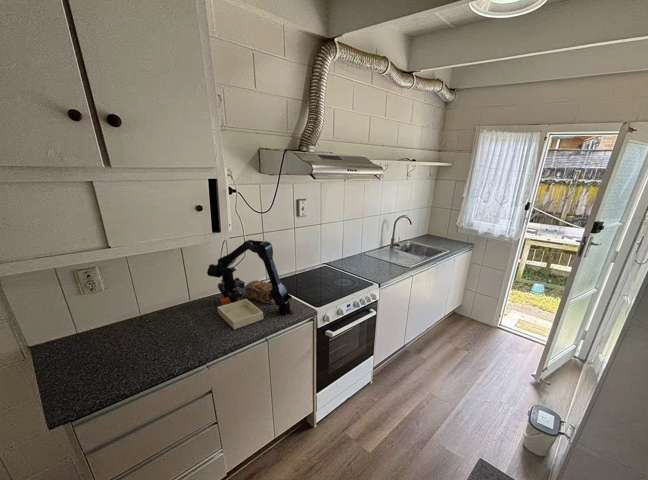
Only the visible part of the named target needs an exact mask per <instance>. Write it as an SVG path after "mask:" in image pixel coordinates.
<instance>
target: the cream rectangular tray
mask: <svg viewBox="0 0 648 480" xmlns="http://www.w3.org/2000/svg"><path fill="white" fill-rule="evenodd" d="M217 313H218V315H219V316H220V317H221V318H222V319H223V320H224V321H225V322H226V323H227V324H228V325H229V326H230V327H231V328H232V329H233V330H236V329H240V328H242V327H245V326H248V325H250V324H253V323H256V322H259V321H262V320H264V312H263V311H262V310H261V309H260V308H259V307H257V306H256V305H255V304H254V303H252V302H251V301H250V300H249V299H248V298H244V299H240V301H237V302H233V303H230V304H226V305H220V306H217Z"/></svg>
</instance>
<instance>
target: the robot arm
mask: <svg viewBox="0 0 648 480" xmlns="http://www.w3.org/2000/svg"><path fill="white" fill-rule="evenodd" d="M248 250H249V251H251V252H252V253H255V254H257V256H258V258H259V259H260V260H261V261H262V262H263V264H264V267H265V270H266V274H267V276H268V278H269V281H270V282H269V283H271V284H272V289H271V290H270V294H271V298H272V297H273V300H274V301H275V303H274V304H275V305H276V306H277V307H278V310H277V311H276V313H277V314H279V315H280V316H281V317H284V316H287V315H291V314H293V311H292V310H291V306H290V304H291V303H290V302H291V301H292V298H293V296H292V295H291V294H290V293H289V292H288V290H287V288H286V286H284V284H283V283H282V281H281V279H280V276H279V273H278V270H277V267H276V264H275V261H274V258H273V257H274V248H273V245H272V243H271V242H269V241H267V240H265V241H262V240H254V239H248V240H244V241H243V243H241V244H240V245H239V246H238V247H237V248H235V249H233V251H231V252H230V253H228V254H226V255H224V256H222V257H220V258H218V259H217V264H213V263H210V264H209V265H208V268H207V271H206V274H207V276H208V277H213V278H221V279H220V282H218V284H217V286H216V287H217V289H218V290H219V292H220V293H221V294H222V296H223V298H226V297H228V298H229V300H230V302H231V303H233V302H237V299H238V298H240V299H241V297H243V293H242V292H241V291H240V290H239V289H244V288H245V286H246V283H245V281H243V280H242V279H240V277H234V273H235V272H236V271H237V268H235V267H234V266H233V265H234V263H235V262H236V260H238V258H239V257H241V256H242V255H243V254H244V253H246V252H247V251H248ZM230 266H231V267H230Z"/></svg>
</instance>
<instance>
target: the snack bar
mask: <svg viewBox="0 0 648 480" xmlns="http://www.w3.org/2000/svg"><path fill="white" fill-rule="evenodd" d="M240 300H241V297H240V298H238V299H237V301H240ZM220 303H221V306H223V305H226V304H230V303H231V302H230V300H229V298H228V297H226V298H225V297H223V298H220Z"/></svg>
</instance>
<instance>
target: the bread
mask: <svg viewBox="0 0 648 480" xmlns="http://www.w3.org/2000/svg"><path fill="white" fill-rule="evenodd" d="M271 289H272V284H271V282H266V281H261V280H251V281H249V282H248V283H247V284H246V285H245V289H244V291H245V295H246V299H249V300H253V301H257V302H261V303H265V304H269V305H273V304H276V303H275V301H274V300H273V297H272V298H271V294H270V290H271Z"/></svg>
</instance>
